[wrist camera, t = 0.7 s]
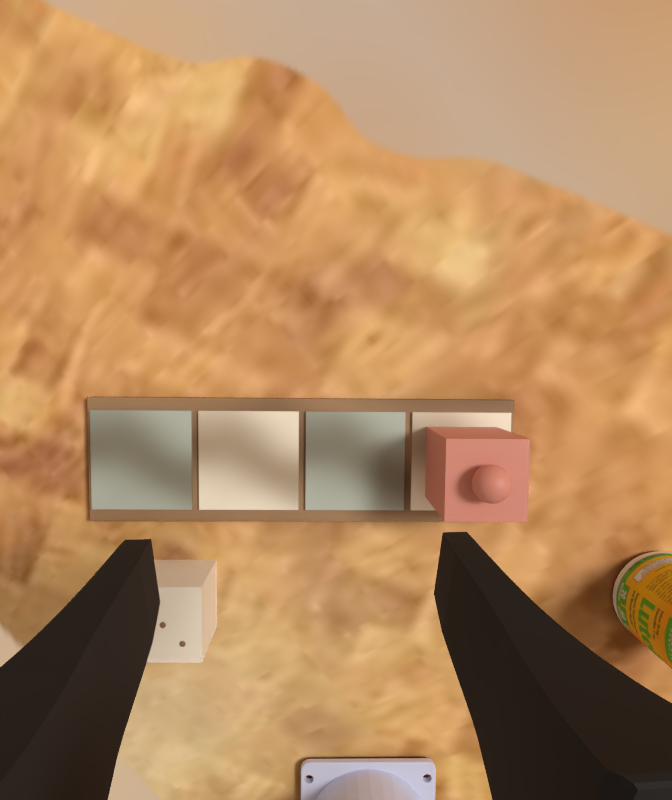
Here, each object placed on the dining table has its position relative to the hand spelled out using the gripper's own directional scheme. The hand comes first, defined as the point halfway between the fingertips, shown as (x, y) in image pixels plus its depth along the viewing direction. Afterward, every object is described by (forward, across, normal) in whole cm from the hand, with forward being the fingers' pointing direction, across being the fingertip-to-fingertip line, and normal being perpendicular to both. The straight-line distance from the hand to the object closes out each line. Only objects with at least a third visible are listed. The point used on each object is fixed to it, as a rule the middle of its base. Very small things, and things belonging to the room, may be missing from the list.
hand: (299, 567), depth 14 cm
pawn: (+15, -9, +7) cm, 19 cm away
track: (+17, 0, +7) cm, 18 cm away
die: (+14, +7, +15) cm, 21 cm away
